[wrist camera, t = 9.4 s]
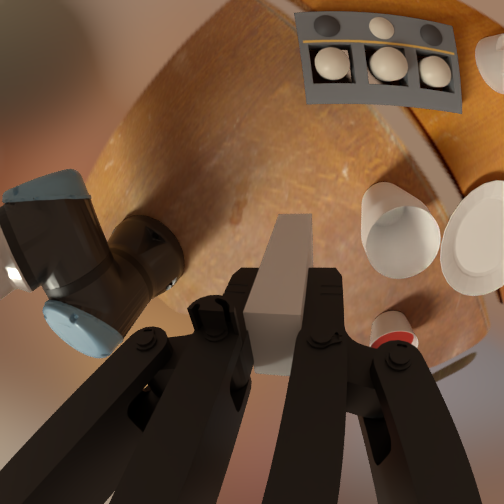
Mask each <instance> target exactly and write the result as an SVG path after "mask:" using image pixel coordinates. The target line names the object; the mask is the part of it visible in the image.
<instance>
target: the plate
mask: <svg viewBox="0 0 504 504" xmlns="http://www.w3.org/2000/svg"><path fill="white" fill-rule="evenodd" d="M440 262H441V267H442V272H443V274H444V276H445V278H446V280H447V282H448V284H449V285H450V286H451V287H452V288H453V289H454V290H456V291H458V292H460V293H462V294H464V295H470V296H478V295H485V294H487V293H490V292H493V291H495V290H497V289H498V288H500V287H502V286H503V285H504V181H501V180H495V181H491V182H487V183H484V184H482V185H481V186H479V187H477V188H476V189H474V190H472V191H471V192H470V193H469V194H468V195H467V196H466V197H465V198H464V199H463V200H462V201H461V202H460V204H459V205H458V207H457V208H456V210H455V211H454V212H453V214H452V215H451V217H450V220H449V222H448V224H447V226H446V229H445V231H444V235H443V239H442V243H441V254H440Z"/></svg>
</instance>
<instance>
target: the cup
mask: <svg viewBox="0 0 504 504" xmlns="http://www.w3.org/2000/svg"><path fill="white" fill-rule="evenodd" d="M361 239H362V243H363V246H364V249H365V251H366V254H367V257H368V260H369V262H370V264H371V265H372V267H373V268H374V269H375V270H376V271H377V272H379V273H380V274H382V275H384V276H386V277H389V278H394V279H403V278H409V277H412V276H415V275H417V274H419V273H420V272H422V271H423V270H425V269H426V268H427V267H428V266H429V265H430V264H431V263H432V261H433V260H434V258H435V257H436V255H437V253H438V250H439V247H440V230H439V227H438V224H437V222H436V221H435V219H434V218H433V216H432V215H431V213H430V211H429V209H428V208H427V207H426V205H425V204H424V203H422V202H421V201H420V200H419V199H417V198H416V197H414V196H413V195H411V194H409V193H408V192H406V191H404V190H403V189H401V188H400V187H398V186H396V185H394V184H392V183H389V182H380V183H376V184H374V185H372V186H371V187H370V188H369V189H368V190H367V191H366V192H365V194H364V196H363V199H362V217H361Z"/></svg>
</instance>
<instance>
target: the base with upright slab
mask: <svg viewBox="0 0 504 504" xmlns="http://www.w3.org/2000/svg"><path fill="white" fill-rule="evenodd" d="M475 58H476V64H477V67H478V69H479V72H480V74H481V76H482V78H483V79H484V80H485V82H486V83H487V84H488V86H490V87H491V88H492V89H493V90H494V91H496V92H498V93H501V94H504V33H503V34H498V35H494V36H490V37H486V38H483V39H481V40H480V41H479V42H478V43H477V46H476V49H475Z"/></svg>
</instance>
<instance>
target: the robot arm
mask: <svg viewBox="0 0 504 504" xmlns="http://www.w3.org/2000/svg"><path fill="white" fill-rule="evenodd" d="M2 202H3V203H5V204H4V205H3V206H2V207H0V300H1V299H3V298H4V297H5V296H6V295H8V294H9V293H10V292H12V291H13V290H15V289H21V290H24V291H28V292H32V291H34V290H35V289H36V288H37V287H39V286H42V287H43V289H44V291H45V293H46V295H47V296H48V298H49V300H48V301H46V302H45V305H44V307H43V314H44V318H45V320H46V321H47V323H48V324H49V326H50V327H51V328H52V330H53V331H54V332H55V333H56V334H57V335H58V336H59V337H60V338H61V339H62V340H64V341H65V342H66V343H67V344H69V345H70V346H71V347H73V348H74V349H76V350H77V351H79V352H81V353H83V354H85V355H88V356H91V357H94V358H105V357H107V356H109V355H110V354H111V353H112V352H113V351H114V349H115V348H116V347H117V346H118V344H120V343H121V342H122V341H123V339H124V337H125V336H126V334H127V333H128V331H129V330H130V329H131V327H132V326H133V324H134V323H135V321H136V320H137V319H138V317H139V316H140V314H141V313H142V311H143V310H144V308H145V307H146V306H147V304H148V303H149V302H150V300H151V299H153V298H155V297H156V296H158V295H160V294H162V293H163V292H165V291H167V290H169V289H170V288H171V287H173V286H174V285H175V283H176V282H177V281H178V279H179V278H180V276H181V275H182V272H183V269H184V256H183V252H182V249H181V246H180V244H179V242H178V241H177V239H176V237H175V236H174V235H173V233H172V232H171V231H170V230H169V229H168V228H167V227H166V226H164V225H163V224H162V223H160V222H159V221H157V220H155V219H153V218H150V217H147V216H142V215H136V216H131V217H129V218H127V219H125V220H124V221H123V222H121V223H120V224H119V225H118V226H117V227H116V228H115V229H114V230H113V232H112V235H111V237H110V238H109V240H108V242H107V240H106V238H105V236H104V233H103V231H102V228H101V226H100V223H99V221H98V218H97V215H96V213H95V210H94V207H93V205H92V202H91V195H89V193H88V191H87V189H86V186H85V184H84V181H83V178H82V176H81V174H80V173H79V172H78V171H76V170H74V169H66V170H62V171H58V172H54V173H51V174H48V175H45V176H42V177H39V178H36V179H33V180H31V181H28V182H26V183H23V184H21V185H19V186H16V187H14V188H12V189H9V190H7V191H5V192H4V194H3V200H2ZM342 286H343V285H342V276H341V274H340V273H339V272H338V270H337V269H336V268H313V236H312V214H279V215H278V218H277V220H276V223H275V226H274V229H273V232H272V234H271V237H270V240H269V243H268V245H267V248H266V251H265V254H264V257H263V259H262V262H261V265H260V268H240V269H239V270H238V271H237V272H236V273H234V274H233V275H232V277H231V279H230V281H229V283H228V286H227V287H226V289H225V293H224V294H223V296H221V295H209V296H206V297H202V298H199V299H198V300H196V301H194V302H193V303H192V304H191V305H190V306H189V307H188V308H187V309H188V312H189V315H190V318H191V321H192V324H193V327H194V330H195V331H194V333H193V334H190V335H185V336H177V337H169V338H168V337H167V335H166V332H165V331H164V330H162V329H161V328H158V327H145V328H143V329H140V330H138V331H137V332H135V333H134V334H132V335H131V336H130V337H129V338H128V339H127V340H126V341H125V342H124V343H123V344H122V345H121V346H120V347H119V348H118V349H117V350H116V351H115V352H114V353H113V354H112V355H111V356H110V357H109V358H108V359H107V360H106V361H105V362H104V363H103V364H102V365H101V366H100V367H99V368H98V369H97V370H96V371H95V372H94V373H93V374H92V375H91V376H90V377H89V378H88V379H87V380H86V381H85V382H84V383H83V384H82V385H81V386H80V387H79V388H78V389H77V390H76V391H75V392H74V393H73V394H72V395H71V396H70V398H68V399H67V400H66V401H65V402H64V403H63V405H62V406H61V407H60V408H59V409H58V410H57V411H56V412H55V413H54V414H53V415H52V416H51V417H50V418H49V419H48V420H47V421H46V422H45V423H44V424H43V425H42V426H41V428H40V429H39V430H38V431H37V432H36V433H35V434H34V435H33V436H32V437H31V438H30V439H29V440H28V441H27V442H26V444H25V445H24V446H23V447H22V448H21V449H20V450H19V451H18V452H17V453H16V454H15V455H14V456H13V457H12V459H11V460H10V461H9V462H8V463H7V464H6V465H5V466H4V467H3V469H2V470H1V471H0V504H104V503H105V502H106V501H107V499H108V498H109V497H110V496H111V495H112V493H113V492H114V491H115V492H114V494H113V496H112V499H111V501H110V503H109V504H216V502H217V498H218V496H219V492H220V490H221V486H222V483H223V480H224V477H225V474H226V471H227V468H228V464H229V461H230V458H231V454H232V452H233V448H234V445H235V442H236V438H237V435H238V432H239V428H240V424H241V421H242V418H243V414H244V411H245V408H246V404H247V401H248V397H249V394H250V390H251V378H250V374H251V370H252V367H253V365H254V370H255V373H259V374H270V375H282V376H290V378H289V383H288V388H287V394H286V399H285V405H284V409H283V414H282V420H281V424H280V429H279V434H278V438H277V443H276V447H275V452H274V456H273V460H272V465H271V469H270V473H269V477H268V481H267V485H266V489H265V493H264V497H263V501H262V504H337V502H338V495H339V487H340V478H341V470H342V460H343V449H344V436H345V420H346V412H349V413H352V414H355V415H357V416H358V419H359V423H360V427H361V431H362V435H363V439H364V443H365V446H366V451H367V455H368V460H369V464H370V468H371V473H372V477H373V482H374V486H375V491H376V496H377V501H378V504H482V502H481V498H480V495H479V492H478V488H477V485H476V482H475V478H474V475H473V472H472V470H471V467H470V463H469V460H468V458H467V455H466V452H465V449H464V447H463V444H462V442H461V439H460V436H459V434H458V431H457V429H456V427H455V424H454V422H453V419H452V417H451V415H450V412H449V410H448V408H447V406H446V404H445V401H444V399H443V397H442V395H441V393H440V390H439V388H438V386H437V384H436V382H435V380H434V378H433V376H432V374H431V372H430V370H429V368H428V366H427V364H426V362H425V360H424V358H423V356H422V354H421V353H420V351H419V350H418V349H417V348H416V347H415V346H414V345H412V344H410V343H409V342H406V341H401V340H391V341H388V342H385V343H383V344H381V345H380V346H379V347H378V348H377V349H376V348H372V347H368V346H364V345H362V344H359V343H357V342H355V341H354V340H352V339H351V338H350V337H349V336H348V334H347V332H346V331H345V326H344V304H343V288H342ZM147 384H148V386H147V387H146V388H144V387H145V386H146V385H147ZM143 388H144V389H143Z"/></svg>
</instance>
